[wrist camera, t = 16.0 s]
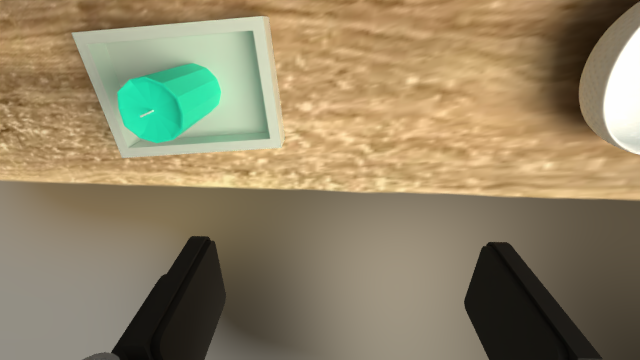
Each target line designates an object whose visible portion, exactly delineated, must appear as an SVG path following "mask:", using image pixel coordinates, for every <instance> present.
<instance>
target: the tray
mask: <svg viewBox="0 0 640 360" xmlns="http://www.w3.org/2000/svg"><path fill="white" fill-rule="evenodd" d="M72 36H73V38H74V40H75V43H76V45H77V48H78V50H79V53H80V55H81V58H82V60H83V63H84V65H85V68H86V70H87V72H88V75H89V77H90V80H91V82H92V85H93V87H94V90H95V92H96V95H97V97H98V100H99V102H100V104H101V107H102V109H103V112H104V114H105V117H106V119H107V122H108V124H109V127H110V129H111V132H112V134H113V136H114V139H115V141H116V144H117V146H118V149H119V151H120V154H121V156H122V158H128V157H144V156H159V155H175V154H191V153H207V152H222V151H238V150H254V149H270V148H282V145H283V143H284V140H285V133H284V126H283V118H282V111H281V103H280V96H279V89H278V81H277V74H276V66H275V59H274V51H273V44H272V36H271V29H270V22H269V17H266V16H257V17H245V18H234V19H222V20H211V21H200V22H188V23H177V24H165V25H154V26H142V27H131V28H119V29H108V30H97V31H85V32H74V33H72ZM192 63H194V64H197V65H200V66H203V67H206V68H207V69H208V70H209V71H210V72H211V73H212V74H213V75H214V76H215V77H216V78H217V80H218V83H219V86H220V89H221V96H220V101H219V105H218V106H217V107H216V108H215V109H214V110H213V111H212V112H210V113H209V114H208V115H206V116H205V117H204V118H202V119H201V120H200V121H198V122H197V123H195V124H194V125H193V126H191V127H190V128H189V129H187V130H186V131H185V132H183V133H182V134H181V135H179V136H178V137H176V138H175V139H174V140H171V141H166V142H161V143H154V142H151V141H148V140H144V139H141V138H139V137H138V136H136V135H135V134H134V133H133V132H131V131H130V130H129V129H128V128H126V127H125V126H124V123H123V120H122V117H121V115H120V112H119V109H118V96H117V92H118V91H119V90H120V89H121V88H122V87H123V86H124V85H125V84H126V83H127V82H128V81H129V79H133V78H137V77H141V76H144V75H148V74H152V73H156V72H159V71H163V70H167V69H171V68H174V67H178V66H182V65H187V64H192Z"/></svg>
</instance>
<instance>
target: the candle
mask: <svg viewBox="0 0 640 360" xmlns="http://www.w3.org/2000/svg"><path fill="white" fill-rule="evenodd" d="M117 96H118V109H119V112H120V115H121V117H122V120H123V123H124V126H125V127H126V128H128V129H129V130H130V131H131V132H133V133H134V134H135V135H136V136H138V137H139V138H141V139H144V140H148V141H151V142H154V143H161V142H166V141H171V140H174V139H175V138H176V137H178V136H179V135H181V134H182V133H183V132H185V131H186V130H187V129H189V128H190V127H191V126H193V125H194V124H195V123H197V122H198V121H200V120H201V119H202V118H204V117H205V116H206V115H208V114H209V113H210V112H212V111H213V110H214V109H215V108H216V107H217V106H218V105H219V101H220V96H221V89H220V86H219V83H218V80H217V78H216V77H215V76H214V75H213V74H212V73H211V72H210V71H209V70H208V69H207V68H206V67H203V66H200V65H197V64H194V63H192V64H187V65H182V66H178V67H174V68H171V69H167V70H163V71H159V72H156V73H152V74H148V75H144V76H141V77H137V78H133V79H129V81H128V82H127V83H126V84H125V85H124V86H123V87H122V88H121V89H120V90H119V91H118V92H117Z"/></svg>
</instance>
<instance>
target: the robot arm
mask: <svg viewBox="0 0 640 360" xmlns="http://www.w3.org/2000/svg"><path fill="white" fill-rule="evenodd" d="M225 298H226V293H225V289H224V283H223V278H222V274H221V269H220V264H219V259H218V254H217V249H216V245H215V242H214V241H211V240H210V238H209V237H205V236H201V237H200V236H192V237H190V239H189V240H188V241H187V243H186V245H185V246H184V248H183V249H182V251H181V253H180V254H179V256H178V257H177V259H176V260H175V262H174V264H173V265H172V267H171V268H170V270H169V271H168V273H167V274H165V275H163V276H161V278H160V279H159V280H158V282H157V283H156V284H155V286H154V288H153V289H152V291H151V292H150V294H149V295H148V297H147V298H146V300H145V301H144V303H143V304H142V306H141V307H140V309H139V311H138V312H137V314H136V315H135V317H134V318H133V320H132V321H131V323H130V324H129V326H128V327H127V329H126V330H125V332H124V333H123V335H122V337H121V338H120V340H119V341H118V343H117V344H116V346H115V347H114V349H113V350H112V352H111V353H106V352H104V353H98V354H94V355H92V356H89V357H87V358H85V359H83V360H204V359H205V356H206V354H207V351H208V348H209V345H210V343H211V340H212V337H213V335H214V332H215V329H216V326H217V324H218V320H219V318H220V315H221V313H222V310H223V307H224V304H225ZM464 304H465V309H466V311H467V314H468V316H469V318H470V320H471V322H472V324H473V326H474V328H475V331H476V333H477V335H478V337H479V339H480V341H481V343H482V345H483V348H484V350H485V352H486V354H487V356H488V358H489V360H602V357H601V356H600V355H599V354H598V352H597V351H596V350H595V349H594V347H593V346H592V345H591V344H590V343H589V341H588V340H587V339H586V337H585V336H584V335H583V334H582V333H581V331H580V330H579V329H578V328H577V326H576V325H575V324H574V323H573V322H572V320H571V319H570V318H569V316H568V315H567V314H566V313H565V312H564V310H563V309H562V308H561V307H560V305H559V304H558V303H557V302H556V300H555V299H554V298H553V297H552V295H551V294H550V293H549V292H548V290H547V289H546V288H545V287H544V286H543V284H542V283H541V282H540V281H539V279H538V278H537V277H536V276H535V274H534V273H533V272H532V271H531V269H530V268H529V267H528V266H527V265H526V263H525V262H524V261H523V260H522V259H521V257H520V256H519V255H518V253H517V252H516V251H515V250H514V248H513V247H512V246H511V245H510V244H509V243H507V242H489V243H488V244H487V245H486V246H483V248H482V249H481V252H480V255H479V258H478V261H477V264H476V267H475V270H474V273H473V276H472V279H471V282H470V285H469V288H468V291H467V294H466V297H465V301H464Z"/></svg>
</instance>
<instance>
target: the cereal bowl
mask: <svg viewBox="0 0 640 360" xmlns="http://www.w3.org/2000/svg"><path fill="white" fill-rule="evenodd" d="M579 103H580V108H581V111H582V115H583V116H584V120H585V121H586V122H587V125H588V126H589V127H590V128H591V129H592V131H594V132H595V133H596V134H597V135H598V136H600V137H601V138H602V139H603V140H605V141H607V142H608V143H610V144H612V145H614V146H616V147H618V148H620V149H623V150H625V151H628V152H631V153H634V154H638V155H640V1H639V2H638V3H636V4H635V5H634V6H633V7H631V8H630V9H628V10H627V11H626V12H625V13H624V14H623V15H621V16H620V17H619V18H618V19H617V20H616V21H615V22H614V23H613V24H612V25H611V26H610V27H609V28H608V29H607V31H606V32H605V33H604V34H603V36H602V37H601V38H600V40H599V41H598V42H597V44H596V45H595V46H594V48H593V50H592V52H591V53H590V55H589V57H588V59H587V61H586V64H585V66H584V69H583V72H582V74H581V79H580V86H579Z"/></svg>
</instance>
